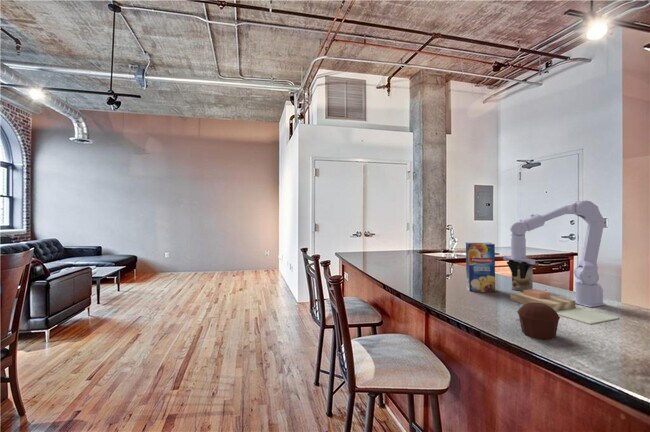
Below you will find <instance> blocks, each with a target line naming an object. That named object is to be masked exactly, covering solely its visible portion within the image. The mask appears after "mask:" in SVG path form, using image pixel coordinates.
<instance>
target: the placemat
mask: <svg viewBox="0 0 650 432" xmlns="http://www.w3.org/2000/svg"><path fill="white" fill-rule="evenodd" d="M556 313H557V314H558V315H559V317H564V318H568V319H570V320H574V321H577V322H580V323H583V324H588V325H594V324H598V323H599V324H600V323H603V322H604V323H605V322H608V321H614V320H619V319H620V317H619V316H614V315H610V314H606V313H603V312H599V311H596V310H591V309H589V308H588V309H586V308H583V307H576V308H573V309H567V310H561V311H556Z"/></svg>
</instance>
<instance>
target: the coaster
mask: <svg viewBox="0 0 650 432" xmlns="http://www.w3.org/2000/svg"><path fill="white" fill-rule="evenodd" d="M522 292H523V295H527V296H530V297H534V298H538V299H541V298H547V297H551V295H552V292H551V291H546V290H541V289H537V288H533V289H529V290H523V291H522Z"/></svg>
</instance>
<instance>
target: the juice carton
mask: <svg viewBox="0 0 650 432" xmlns="http://www.w3.org/2000/svg"><path fill="white" fill-rule="evenodd" d="M495 249H496V246H495V243H492V242H465V263H466V264H465V268H466V269H465V271H466V272H465V273H466V275H465V276H466V278H465V279H466V281H465V282H466V284H465V286H466V289H467V290H468V291H469V292H473V291H480V293H481V292H482V293H496V255H495V254H496V252H495Z"/></svg>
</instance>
